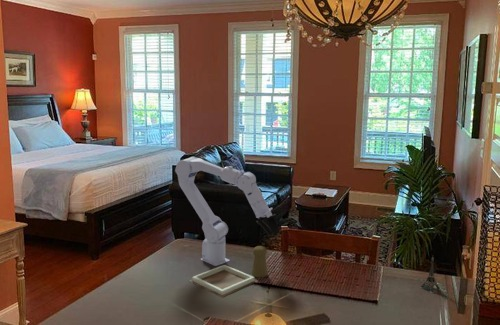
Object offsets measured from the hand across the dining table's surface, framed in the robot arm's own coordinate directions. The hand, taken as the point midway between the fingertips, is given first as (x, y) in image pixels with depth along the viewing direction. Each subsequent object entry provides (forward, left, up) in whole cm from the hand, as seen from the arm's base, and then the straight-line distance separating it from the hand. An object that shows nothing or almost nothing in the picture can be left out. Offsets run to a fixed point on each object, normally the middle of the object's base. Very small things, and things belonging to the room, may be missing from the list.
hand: (274, 233), depth 177 cm
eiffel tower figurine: (+50, +29, -16) cm, 60 cm away
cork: (-1, -6, -15) cm, 16 cm away
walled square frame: (-6, -20, -15) cm, 26 cm away
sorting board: (-6, -20, -15) cm, 26 cm away
